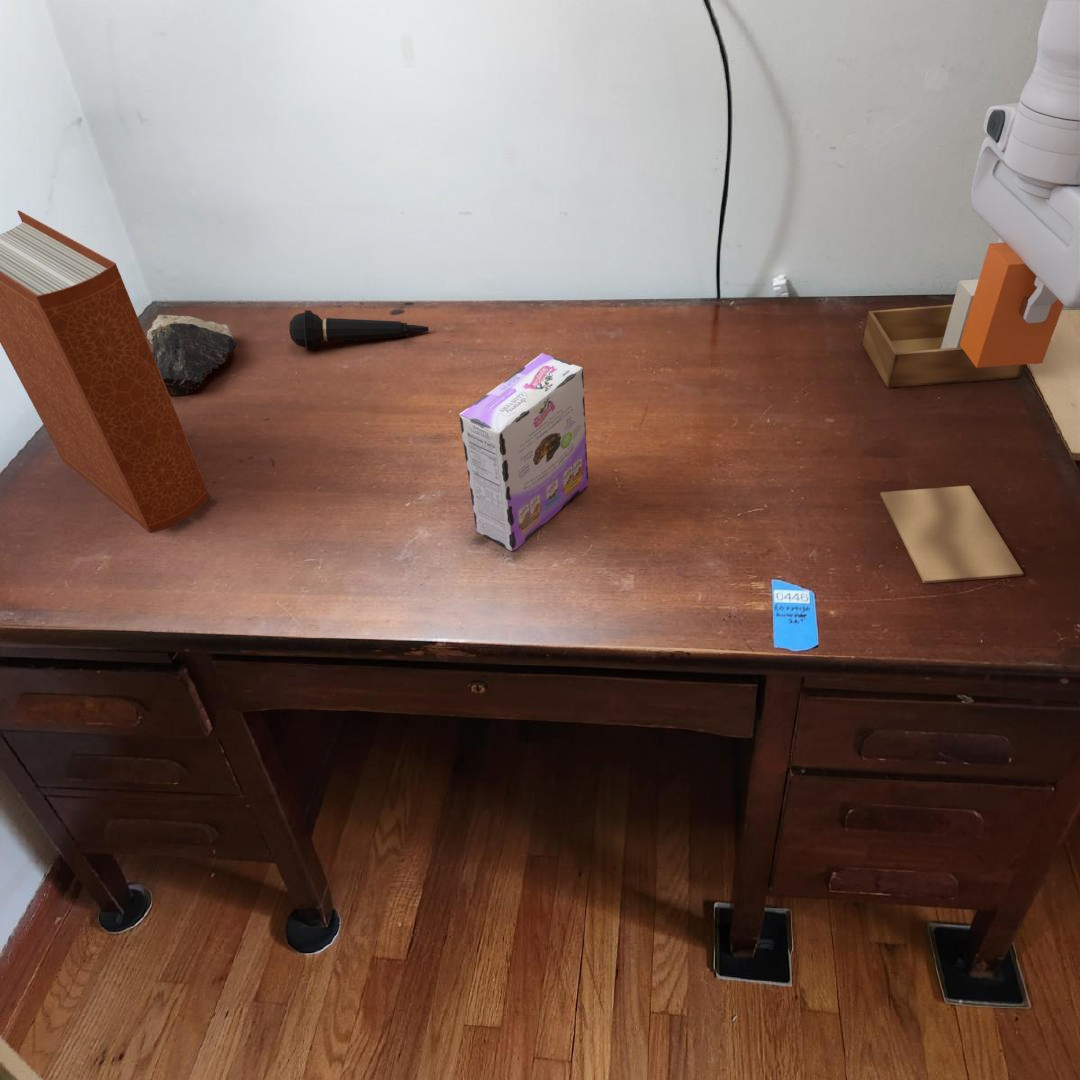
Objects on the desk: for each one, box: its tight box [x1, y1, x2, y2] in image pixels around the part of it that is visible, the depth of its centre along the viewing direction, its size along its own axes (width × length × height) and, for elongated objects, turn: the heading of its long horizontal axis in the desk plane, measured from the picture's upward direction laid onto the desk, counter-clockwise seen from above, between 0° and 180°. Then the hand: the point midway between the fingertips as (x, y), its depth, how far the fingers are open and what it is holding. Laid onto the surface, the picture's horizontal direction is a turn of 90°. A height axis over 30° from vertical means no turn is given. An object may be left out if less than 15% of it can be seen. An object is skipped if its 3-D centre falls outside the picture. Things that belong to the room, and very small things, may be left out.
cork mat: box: [879, 485, 1024, 584], centre depth 97 cm, size 10×14×1 cm
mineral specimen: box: [146, 314, 238, 397], centre depth 129 cm, size 13×7×15 cm
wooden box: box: [861, 304, 1025, 389], centre depth 120 cm, size 17×11×5 cm, turn 92°
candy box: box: [458, 352, 589, 552], centre depth 99 cm, size 14×6×16 cm, turn 141°
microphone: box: [288, 309, 429, 351], centre depth 133 cm, size 6×6×20 cm
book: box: [0, 210, 211, 534], centre depth 103 cm, size 23×8×30 cm, turn 47°
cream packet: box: [941, 278, 979, 349], centre depth 118 cm, size 6×4×10 cm, turn 92°
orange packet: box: [960, 242, 1065, 368], centre depth 80 cm, size 6×4×10 cm, turn 92°
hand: (1017, 303), depth 80 cm, fingers closed on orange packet, 4 cm apart
